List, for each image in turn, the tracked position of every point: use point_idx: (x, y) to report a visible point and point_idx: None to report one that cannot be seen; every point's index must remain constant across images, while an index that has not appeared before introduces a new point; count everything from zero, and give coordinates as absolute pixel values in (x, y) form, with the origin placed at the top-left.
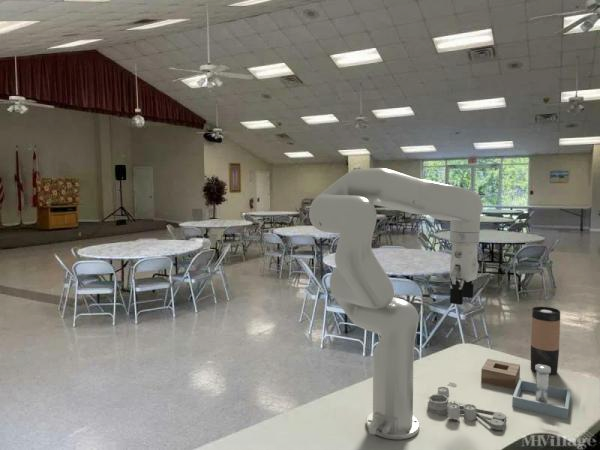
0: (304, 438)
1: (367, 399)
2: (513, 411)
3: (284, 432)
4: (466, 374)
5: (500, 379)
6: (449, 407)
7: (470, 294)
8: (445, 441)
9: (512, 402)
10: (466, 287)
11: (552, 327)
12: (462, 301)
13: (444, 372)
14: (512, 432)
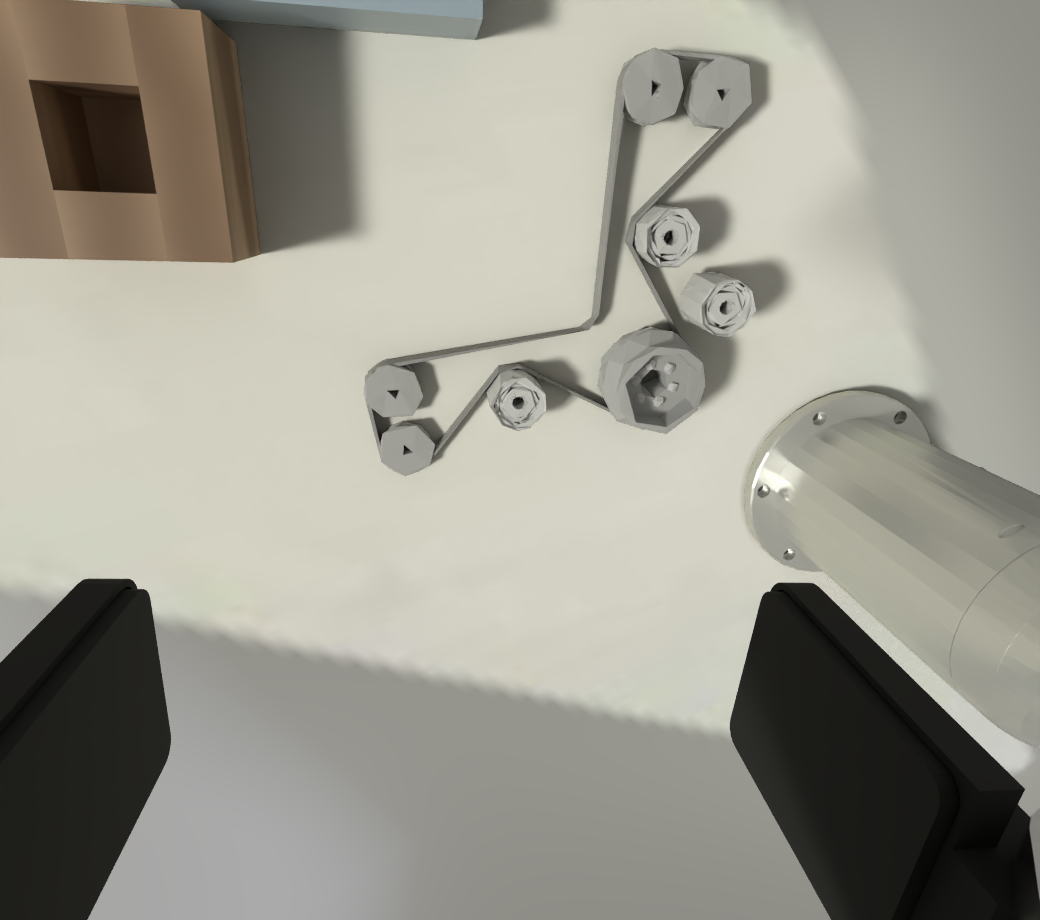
0: None
1: (674, 626)
2: (490, 30)
3: (954, 704)
4: (156, 360)
5: (228, 132)
6: (748, 320)
7: (116, 648)
8: (876, 282)
9: (478, 28)
10: (51, 855)
11: None
12: (820, 605)
13: (214, 468)
14: (714, 16)
